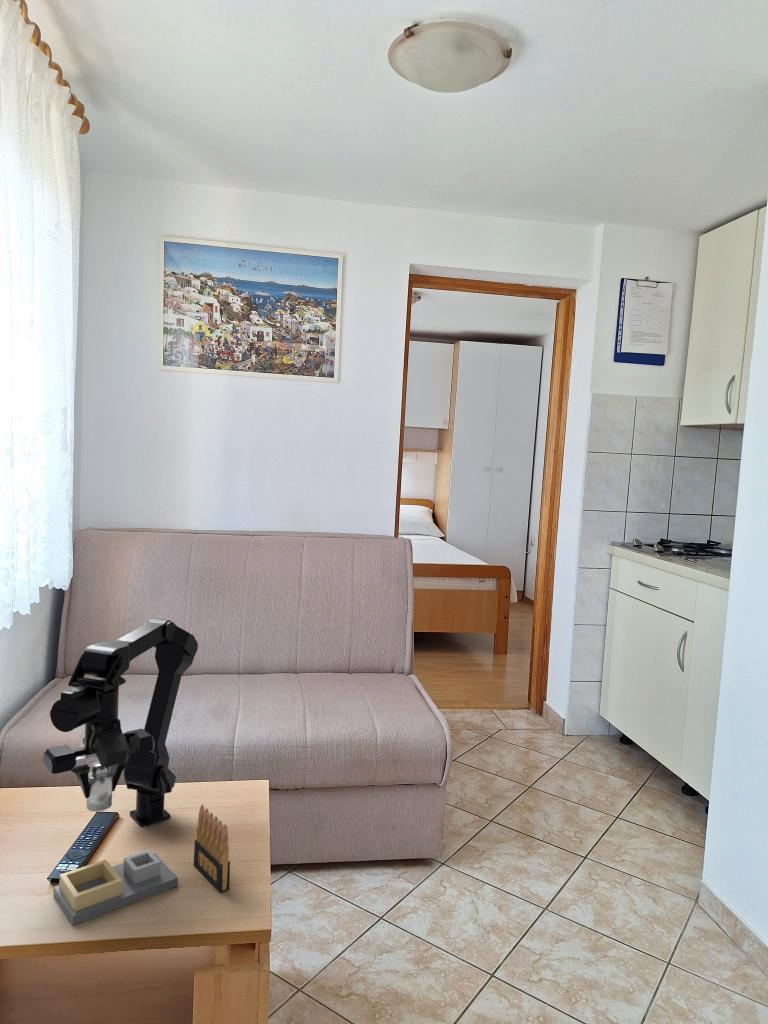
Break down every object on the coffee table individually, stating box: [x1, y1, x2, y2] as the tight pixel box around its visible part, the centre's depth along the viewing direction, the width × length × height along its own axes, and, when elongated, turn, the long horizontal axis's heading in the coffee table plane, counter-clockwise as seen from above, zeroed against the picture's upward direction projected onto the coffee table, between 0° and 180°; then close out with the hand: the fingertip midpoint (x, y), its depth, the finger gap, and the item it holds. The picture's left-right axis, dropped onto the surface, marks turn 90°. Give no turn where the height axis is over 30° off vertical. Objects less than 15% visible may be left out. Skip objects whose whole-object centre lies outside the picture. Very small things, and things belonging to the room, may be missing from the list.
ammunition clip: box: [192, 804, 231, 894], centre depth 128 cm, size 11×2×12 cm, turn 41°
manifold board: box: [53, 849, 179, 926], centre depth 123 cm, size 10×18×4 cm, turn 131°
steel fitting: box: [86, 760, 113, 812], centre depth 132 cm, size 4×4×8 cm
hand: (99, 794), depth 132 cm, fingers closed on steel fitting, 4 cm apart
